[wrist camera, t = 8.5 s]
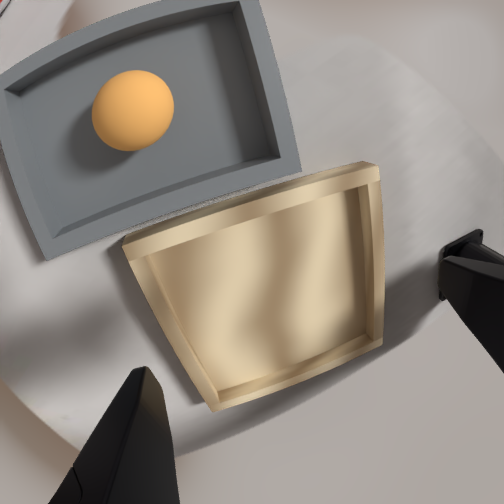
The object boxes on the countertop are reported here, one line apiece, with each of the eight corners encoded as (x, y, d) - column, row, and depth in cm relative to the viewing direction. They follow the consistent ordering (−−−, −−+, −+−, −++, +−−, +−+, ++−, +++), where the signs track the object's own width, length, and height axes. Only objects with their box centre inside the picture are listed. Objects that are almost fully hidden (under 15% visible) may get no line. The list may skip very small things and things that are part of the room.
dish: (362, 161, 19) (378, 165, 17) (372, 333, 26) (382, 344, 25) (125, 234, 17) (121, 246, 15) (209, 396, 24) (212, 412, 23)
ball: (181, 134, 15) (186, 135, 12) (113, 159, 15) (97, 168, 11) (162, 68, 13) (161, 49, 10) (93, 93, 13) (72, 84, 9)
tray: (243, -1, 13) (253, -16, 11) (286, 165, 18) (301, 171, 16) (7, 86, 11) (-12, 83, 9) (59, 244, 16) (46, 260, 14)
